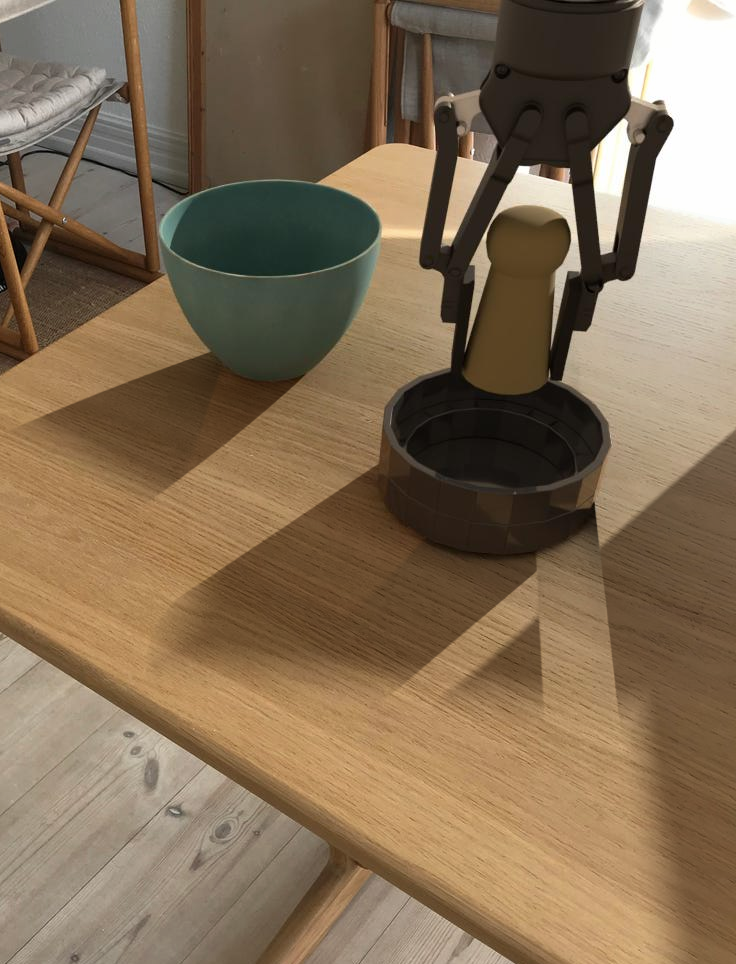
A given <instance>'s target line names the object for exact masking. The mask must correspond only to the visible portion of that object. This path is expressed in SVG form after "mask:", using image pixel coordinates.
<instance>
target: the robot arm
mask: <svg viewBox="0 0 736 964" xmlns="http://www.w3.org/2000/svg"><path fill="white" fill-rule="evenodd" d="M645 1H646V0H500V1H499V9H498V16H497V23H496V32H495V37H494V45H493V53H492V60H491V65H490V68H489V71H488V72H487V74H486V76H485V78H484V79H483V80H482V82H481V84H480V86H479V89H475V90H472V91H468V92H463V93H459V94H457V95H454V94H453V93H452V92H450V91H442V92H440V93H439V94H438V95H437V96H435V97H436V98H435V100H434V106H433V124H434V125H433V126H434V130H435V136H436V142H437V148H436V152H435V159H434V163H433V164H434V165H433V171H432V176H431V182H430V186H429V187H430V188H429V194H428V198H427V205H426V210H425V217H424V221H423V227H422V234H421V239H420V244H419V245H420V246H419V256H418V264H419V266H420V267H421V268H422V269H423V270H428V271H429V270H434V271H437V272H438V273H440V274H441V275H442V277H443V286H442V294H441V300H440V301H441V302H440V313H439V314H440V315H439V316H440V318H441V322H442V323H443V324H455V325H454V331H453V338H452V345H451V352H450V355H451V356H450V368H451V372H450V373H455V374H462V367H463V360H464V354H465V350H466V347H467V341H468V332H469V326H470V320H471V319H470V318H471V313H472V312H471V311H472V305H473V298H474V292H475V285H476V265H475V264H471V263H472V260H473V259H474V256H475V254H476V253H477V250H478V248H479V247H480V244H481V242H482V240H483V238H484V236H485V234H486V233H487V230H488V228H489V226H490V224H491V222H492V219H493V217H494V216H495V213H496V211H497V209H498V207H499V205H500V202H501V200H502V198H503V197H504V195H505V192H506V190H507V188H508V187H509V185H510V184H511V183H512V181H513V180H514V177H515V176H516V174H517V171H518V169H519V167H535V166H539V165H547V166H550V167H553V168H556V169H569V175H570V183H571V191H572V201H573V208H574V217H575V218H574V219H575V227H576V236H577V244H578V252H579V260H580V261H579V262H580V271H577V270H567V272H566V277H565V282H564V287H563V291H562V296H561V299H560V300H561V301H560V306H559V310H558V315H557V319H556V323H555V329H554V333H553V337H552V338H553V339H552V341H551V353H550V368H549V377H550V380H552V381H560V382H562V381H563V377H564V374H565V373H564V372H565V368H566V364H567V360H568V356H569V350H570V347H571V342H572V337H573V333H574V332H584V333H586V332H588V330H589V329H590V327H591V326H592V322H593V319H594V314H595V310H596V306H597V301H598V298H599V294H600V293H601V292H602V291H603V289H604V288H605V284H607V283H609V282H613V281H616V280H618V281H619V282H628V281H630V280H631V279H632V278H633V277H634V275H635V273H636V271H637V270H636V269H637V263H638V259H639V253H640V247H641V243H642V239H643V238H642V237H643V231H644V226H645V222H646V215H647V211H648V206H649V205H648V204H649V200H650V195H651V191H652V189H651V188H652V184H653V178H654V174H655V168H656V162H657V158H658V156H659V155H660V153H661V151H662V149H663V147H664V146H665V144H666V142H667V140H668V138H669V137H670V135H671V133H672V131H673V129H674V126H675V120H674V118H673V115H672V112H671V109H670V106H669V104H668V102H667V101H665V100H663V99H657V100H655V101H653V102H650V101H647V100H644V99H642V98H638V97H636V96H633V95H632V91H631V89H630V84H629V72H630V69H631V68H630V67H631V63H632V60H633V55H634V51H635V46H636V41H637V36H638V32H639V28H640V25H641V24H640V23H641V19H642V14H643V11H644V5H645ZM481 113H482V116H483V117H484V119H485V121H486V123H487V125H488V126H489V128H490V130H491V132H492V134H493V136H494V138H495V139H496V144H495V146H494V149H493V151H492V154H491V156H490V160H489V162H488V165H487V167H486V169H485V171H484V173H483V176H482V178H481V180H480V182H479V184H478V186H477V188H476V190H475V193H474V194H473V196H472V200H471V202H470V204H469V205H468V207H467V210H466V212H465V214H464V216H463V218H462V221H461V222H460V224H459V228H458V229H457V231H456V233H455V236H454V238H453V240H452V242H451V244H450V245H448V244H446V243H444V242H443V236H444V231H445V227H446V221H447V216H448V210H449V206H450V201H451V195H452V190H453V189H452V188H453V184H454V179H455V175H456V168H457V163H458V156H459V145H460V138H463V137H465V136H467V135H468V134H469V133H470V132H471V129H472V123H473V120H474V118H475V117H476V116H477V115H478V114H481ZM623 120H625V121H626V122H627V124H626V125H627V126H626V128H625V129H626V136H627V140H628V141H629V143H630V146H629V151H628V152H629V153H628V158H627V163H626V169H625V174H624V179H623V180H624V181H623V185H622V186H623V187H622V192H621V198H620V203H619V210H618V216H617V222H616V227H615V233H614V239H613V245H612V251H611V252H607V253H602V254H601V244H600V243H601V242H600V233H599V224H598V215H597V213H598V212H597V204H596V195H595V194H596V193H595V183H594V172H593V163H592V152H593V151H594V149H596V148H597V147H598V145H600V143H601V142H602V141H603V140H604V139H606V137H608V135H609V134H610V133H611V132H612V131H613V130H614V129H615V128H616V127H617V126H618V125H619V124H620V123H621V121H623Z"/></svg>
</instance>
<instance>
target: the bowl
mask: <svg viewBox="0 0 736 964" xmlns="http://www.w3.org/2000/svg"><path fill="white" fill-rule="evenodd" d="M450 372H451V367H445V368H442V369H439V370H435V371H431V372H430V373H426V374H422V375H419V376H417V377H416V378H414V379H412V380H411V381H409V382H407V383H406V384H404V385H403V386H401V387H399V388H398V389H396V391H395V392H394V394H393V395H392V396H391V398H390V399H389V400H388V402H387V403H386V405H384V409H383V418H382V427H381V437H380V448H379V460H378V473H377V485H376V486H377V488H378V491H379V493H380V496H381V498H382V501H383V503H384V505H385V507H386V508H387V509H388V510H389V511H390V512H391V513H392V515H393V516H394V517H395V518H396V519H397V520H398V521H399V522H400V523H401V524H403V526H405V527H406V528H408V529H410V530H412V531H414V532H415V533H417V534H418V535H420V536H422V537H423V538H425V539H427V540H429V541H431V542H433V543H436V544H440V545H443V546H446V547H449V548H453V549H455V550H459V551H464V552H468V553H469V552H470V553H479V554H490V555H504V556H505V555H513V554H522V553H531V552H538V551H540V550H543V549H546V548H549V547H552V546H554V545H557V544H559V543H562V542H565V541H567V540H568V539H569V538H570V537H572V536H573V535H575V533H576V532H577V531H579V530H580V529H582V528H583V527H584V526H585V525H586V524H587V523H588V521H589V518H591V514H592V512H593V510H594V508H595V506H596V503H595V502H596V499H597V497H598V495H599V492H600V488H601V484H602V481H603V477H604V474H605V470H606V467H607V463H608V459H609V455H610V452H611V450H612V445H613V442H612V435H611V430H610V429H611V428H610V423H609V421H608V420H607V419H606V418H607V417H605V415H604V414H603V412H602V411H601V410H600V408H599V407H598V406H597V404H596V403H595V402H593V401H592V400H591V399H589V398H588V397H587V396H586V395H584V394H582V393H581V392H580V391H579V390H578V389H576V388H574V387H573V386H571V385H569V384H567V383H565V382H562V381H552V380H550V376H549V377H548V380H547V382H546V383H545V384H544V385H543V386H542V387H541V388H539V389H537V390H535V391H532V392H529V393H524V394H517V395H510V394H498V393H493V392H488V391H485V390H483V389H480V388H478V387H475V386H474V385H473V384H471V383H470V382H468V381H467V380H466V379H465V377H464V376H463V374H455V373H450Z"/></svg>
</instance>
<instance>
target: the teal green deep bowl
mask: <svg viewBox="0 0 736 964" xmlns="http://www.w3.org/2000/svg"><path fill="white" fill-rule="evenodd" d="M382 234H383V222H382V219H381V217H380V215H379V213H378V212H377V211H376V209H375V208H374V207H373V206H372V205H370V204H369V203H368V202H367V201H365V200H364V199H362V198H361V197H359V196H357V195H355V194H353V193H350V192H349V191H346V190H344V189H340V188H337V187H334V186H330V185H326V184H322V183H316V182H310V181H302V180H295V179H293V180H292V179H291V180H290V179H258V180H257V179H256V180H247V181H239V182H232V183H227V184H223V185H219V186H214V187H211V188H207V189H205V190H202V191H199V192H196V193H194V194H192V195H189V196H188V197H186V198H183V199H182V200H181V201H179V202H177V203H176V204H174V205H173V206H172V207H171V208H169V209H168V210H167V212H165V214H164V215H163V216H162V218H161V220H160V222H159V225H158V235H159V236H158V239H159V244H160V245H159V246H160V249H161V251H160V252H161V255H162V259H163V263H164V267H165V272H166V274H167V278H168V280H169V283H170V284H169V285H170V286H171V289H172V291H173V294H174V296H175V297H174V298H175V299H176V301H177V304H178V305H179V307H180V309H181V311H182V314H183V315H184V317H185V319H186V320H187V323H188V324H189V326H190V327H191V328H192V330H193V332H194V333H195V335H196V336H197V338H199V340H200V341H201V342H202V344H203V345H204V346H205V347H206V348H207V349H208V350H209V351H210V352H211V353H212V354H213V355H214V356H215V358H216V359H218V361H220V362H221V363H222V364H223V365H224V366H225V367H226V368H227V369H229V370H230V371H232V372H233V373H235V374H236V375H238V376H240V377H243V378H245V379H249V380H252V381H256V382H257V381H258V382H266V383H267V382H283V381H284V382H285V381H289V380H293V379H297V378H300V377H301V376H304V375H305V374H307V373H309V372H310V371H311V370H313V369H314V368H315V367H316V366H318V365H319V364H320V363H321V362H322V361H323V360H324V359H325V358H326V357H327V356H328V355H329V354H330V353H331V351H333V349H334V348H335V347H336V346H337V345H338V344H339V342H340V341H341V340H342V338H343V337H344V336H345V334H346V333H347V332H348V330H349V328H350V327H351V325H352V324H353V322H354V321H355V319H356V317H357V315H358V314H359V312H360V309H361V307H362V305H363V303H364V301H365V299H366V296H367V294H368V291H369V288H370V285H371V283H372V280H373V276H374V273H375V270H376V265H377V262H378V258H379V254H380V248H381V243H382V242H381V241H382V236H383V235H382Z"/></svg>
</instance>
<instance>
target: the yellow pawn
mask: <svg viewBox="0 0 736 964" xmlns="http://www.w3.org/2000/svg"><path fill="white" fill-rule="evenodd" d="M571 243H572V232H571V228H570V225H569V223H568V219H566V218H565V216H563V214H560V212H558V211H556V210H554V209H552V208H549V207H545V206H542V205H536V204H521V205H515V206H511V207H508V208H506V209H503V210H502V211H500V212H499V213H497V215H496V216H495V217H494V218H493V220H491V222H490V224H489V226H488V229H487V231H486V238H485V248H486V256H487V259H488V260H489V263H490V265H489V270H488V273H487V276H486V280H485V283H484V287H483V290H482V293H481V296H480V300H479V303H478V307H477V310H476V313H475V317H474V320H473V324H472V327H471V330H470V333H469V337H468V339H467V342H466V347H465V354H464V360H463V367H462V374H463V376H464V377H465V379H466V380H467V381H468V382H470V383H471V384H473V385H474V386H475V387H478V388H480V389H483V390H485V391H488V392H493V393H498V394H510V395H517V394H524V393H529V392H532V391H535V390H537V389H539V388H541V387H542V386H543V385H544V384H545V383H546V382H547V380H548V377H550V353H551V347H552V338H553V337H552V335H553V334H552V333H553V320H554V309H555V308H554V306H555V290H556V278H557V277H556V276H557V270H558V269H559V268H560V267H561V266H562V265H563V264H564V262H565V260H566V258H567V256H568V254H569V251H570V248H571Z"/></svg>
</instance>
